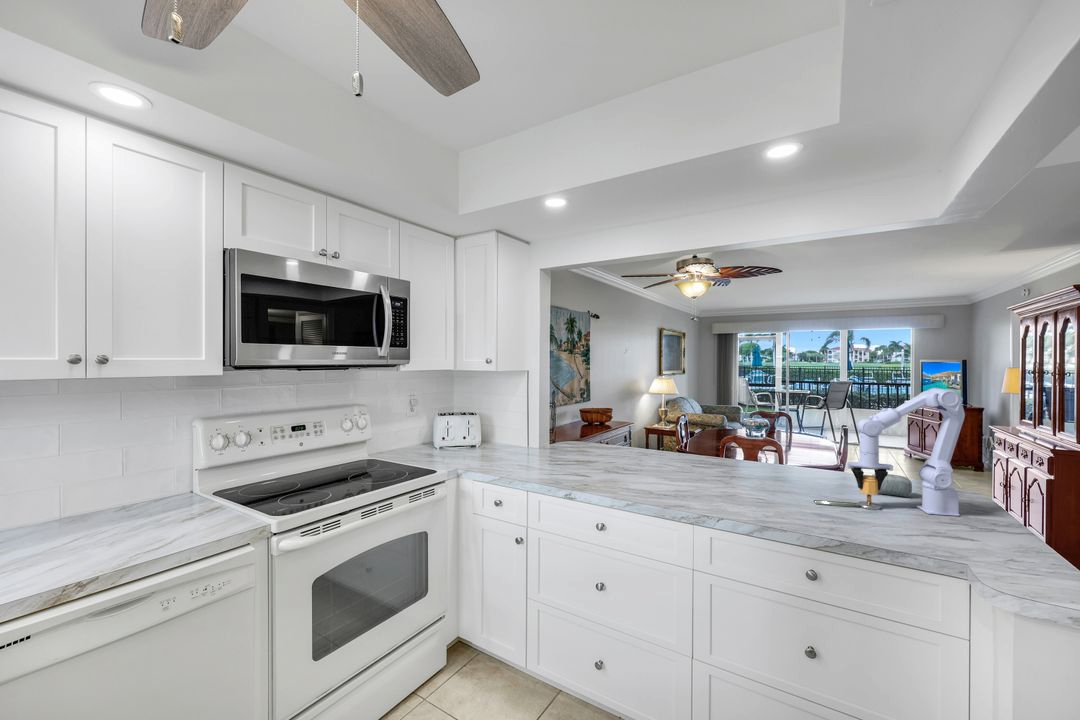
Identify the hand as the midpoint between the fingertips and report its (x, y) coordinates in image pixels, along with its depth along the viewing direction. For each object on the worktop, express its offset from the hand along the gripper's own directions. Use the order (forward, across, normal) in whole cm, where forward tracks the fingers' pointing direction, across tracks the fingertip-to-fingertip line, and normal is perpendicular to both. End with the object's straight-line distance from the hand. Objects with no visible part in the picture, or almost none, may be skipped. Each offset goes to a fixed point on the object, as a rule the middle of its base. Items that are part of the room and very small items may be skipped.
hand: (869, 488), depth 170 cm
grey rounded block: (+7, -14, -19) cm, 25 cm away
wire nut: (+2, 0, 0) cm, 2 cm away
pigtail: (+7, +7, 0) cm, 10 cm away
